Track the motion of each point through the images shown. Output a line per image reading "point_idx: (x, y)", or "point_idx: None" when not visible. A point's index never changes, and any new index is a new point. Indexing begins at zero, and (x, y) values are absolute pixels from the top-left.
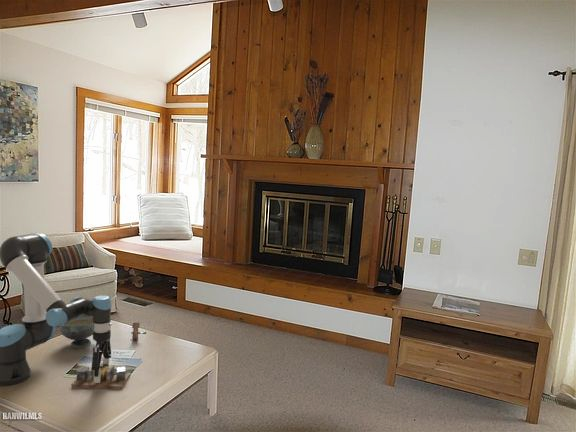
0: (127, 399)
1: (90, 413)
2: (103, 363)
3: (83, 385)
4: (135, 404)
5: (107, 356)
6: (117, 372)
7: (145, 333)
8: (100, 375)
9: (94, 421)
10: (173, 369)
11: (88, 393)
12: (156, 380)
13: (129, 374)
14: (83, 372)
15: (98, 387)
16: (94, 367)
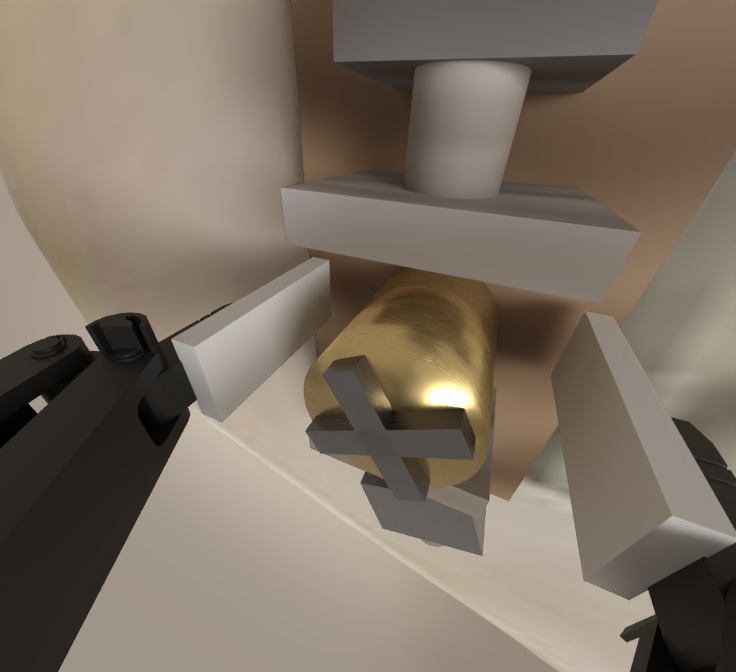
0: (258, 424)
1: (122, 290)
2: (449, 457)
3: (307, 130)
4: (238, 441)
5: (679, 662)
6: (362, 482)
7: None
8: (289, 355)
9: (102, 315)
10: (549, 630)
11: (252, 223)
12: (430, 546)
13: (494, 492)
14: (342, 29)
15: None
16: (44, 398)
